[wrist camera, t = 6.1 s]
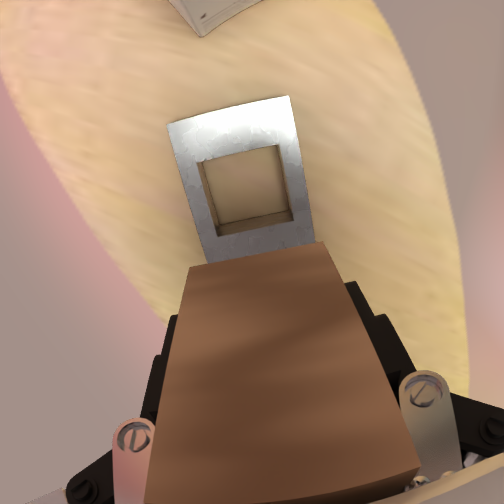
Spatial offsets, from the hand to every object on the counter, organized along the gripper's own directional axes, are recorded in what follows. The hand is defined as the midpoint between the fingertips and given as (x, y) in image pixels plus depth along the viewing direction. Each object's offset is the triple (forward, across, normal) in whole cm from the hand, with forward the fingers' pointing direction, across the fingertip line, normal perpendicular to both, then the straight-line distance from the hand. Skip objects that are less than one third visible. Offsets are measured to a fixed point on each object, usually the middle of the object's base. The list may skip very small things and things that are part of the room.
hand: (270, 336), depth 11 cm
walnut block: (+2, 0, 0) cm, 2 cm away
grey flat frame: (+18, 0, +5) cm, 18 cm away
